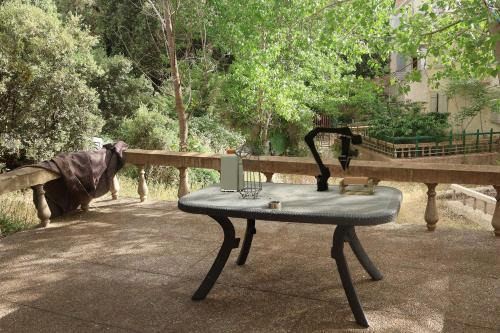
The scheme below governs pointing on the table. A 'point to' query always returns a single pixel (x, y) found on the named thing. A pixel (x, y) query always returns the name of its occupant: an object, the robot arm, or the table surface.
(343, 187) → the shelf frame
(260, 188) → the geometric lantern
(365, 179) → the tan rectangular block
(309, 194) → the table surface
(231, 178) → the plastic bottle
